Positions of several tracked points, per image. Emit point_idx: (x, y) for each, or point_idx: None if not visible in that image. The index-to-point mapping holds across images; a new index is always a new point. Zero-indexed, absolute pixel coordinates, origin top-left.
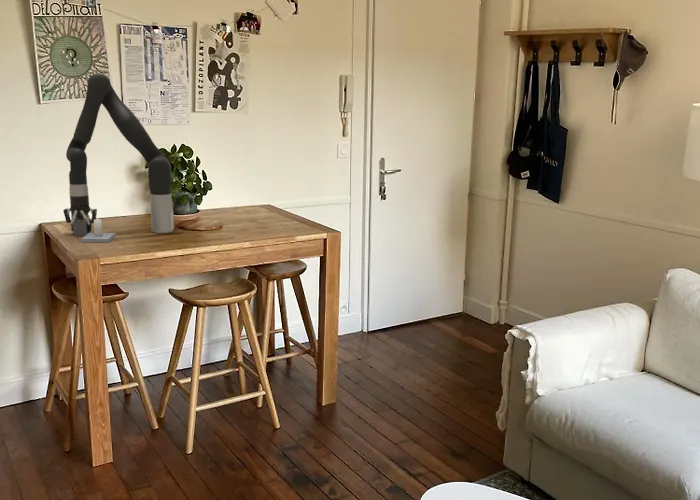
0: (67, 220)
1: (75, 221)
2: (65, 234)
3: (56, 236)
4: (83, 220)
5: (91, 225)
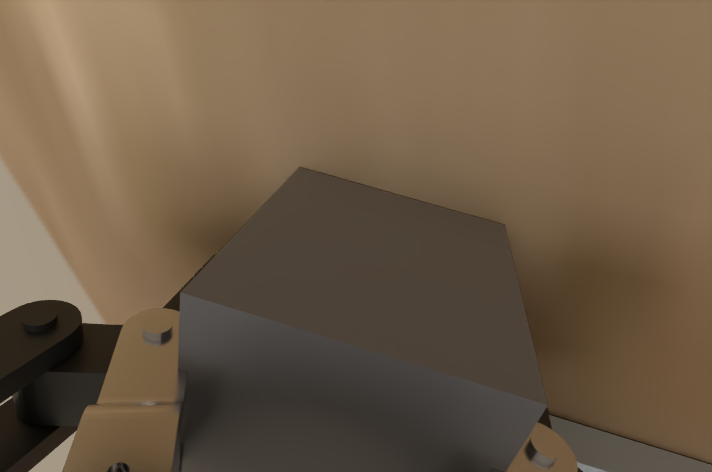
0: (36, 436)
1: (211, 463)
2: (154, 218)
3: (87, 293)
4: (376, 433)
5: (547, 418)
